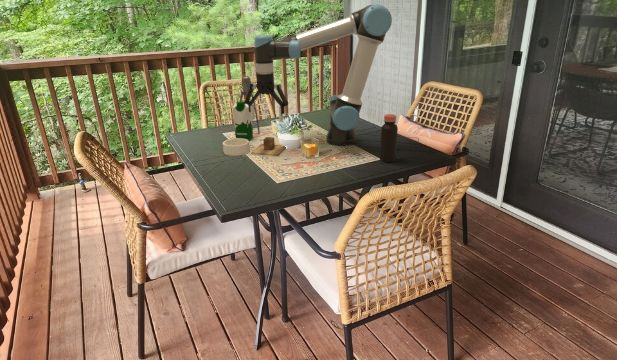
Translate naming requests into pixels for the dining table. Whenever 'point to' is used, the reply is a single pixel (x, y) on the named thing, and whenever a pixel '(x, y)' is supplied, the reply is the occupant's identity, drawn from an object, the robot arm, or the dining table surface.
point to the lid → (269, 148)
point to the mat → (270, 156)
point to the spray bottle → (246, 88)
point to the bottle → (388, 139)
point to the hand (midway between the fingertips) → (267, 120)
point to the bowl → (236, 147)
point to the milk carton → (242, 121)
